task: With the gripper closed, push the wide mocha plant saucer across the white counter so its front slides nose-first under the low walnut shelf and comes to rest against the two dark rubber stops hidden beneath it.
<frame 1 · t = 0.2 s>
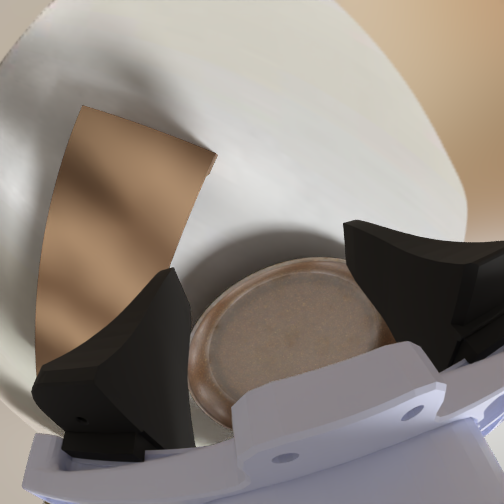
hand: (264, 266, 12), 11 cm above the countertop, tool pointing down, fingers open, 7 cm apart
walnut shelf: (110, 284, 22), on the countertop
plant saucer: (296, 348, 27), on the countertop
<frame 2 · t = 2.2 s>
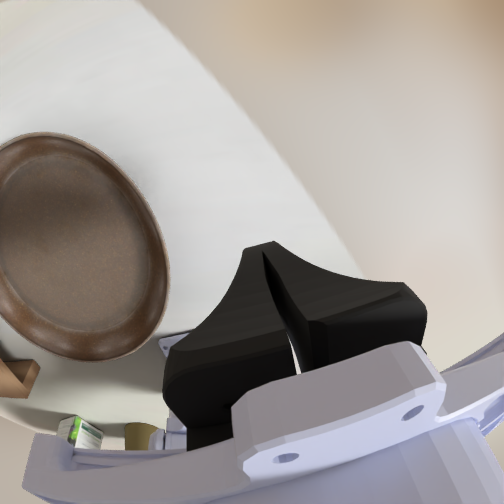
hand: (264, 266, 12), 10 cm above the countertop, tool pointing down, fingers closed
syrup box: (81, 425, 33), on the countertop
cork: (144, 431, 34), on the countertop
plant saucer: (62, 249, 21), on the countertop
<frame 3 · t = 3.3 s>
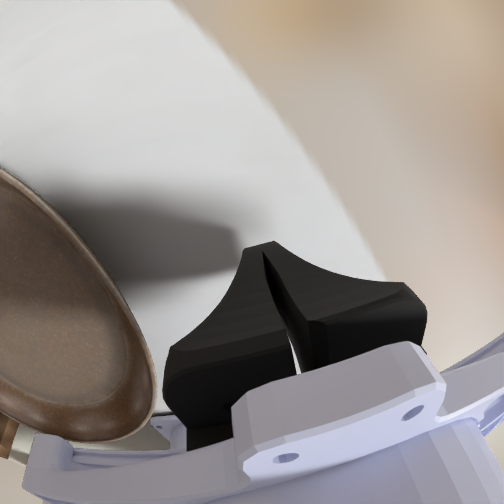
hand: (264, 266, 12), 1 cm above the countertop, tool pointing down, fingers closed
plant saucer: (14, 310, 13), on the countertop
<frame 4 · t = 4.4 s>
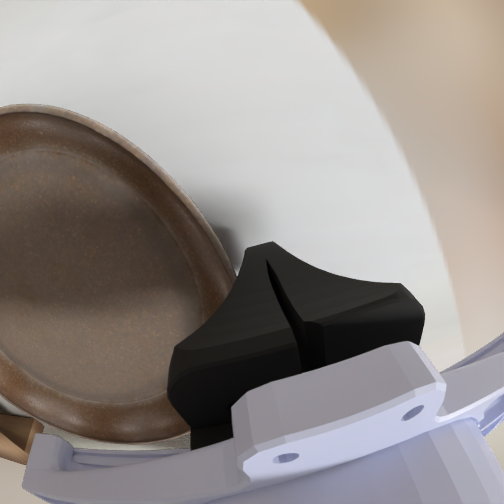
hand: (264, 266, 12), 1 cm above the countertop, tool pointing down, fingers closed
plant saucer: (59, 299, 13), on the countertop, touching gripper
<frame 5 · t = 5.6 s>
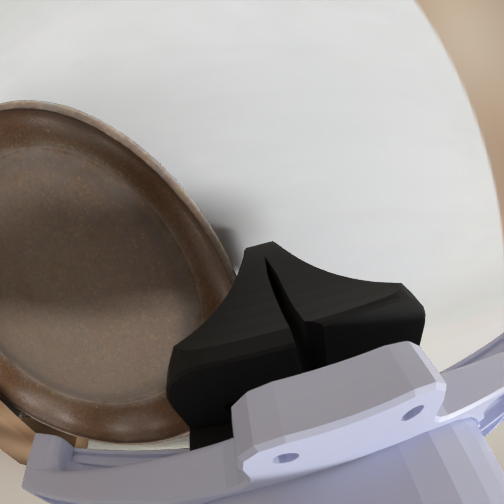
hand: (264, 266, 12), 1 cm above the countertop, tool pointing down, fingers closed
plant saucer: (57, 297, 13), on the countertop, touching gripper
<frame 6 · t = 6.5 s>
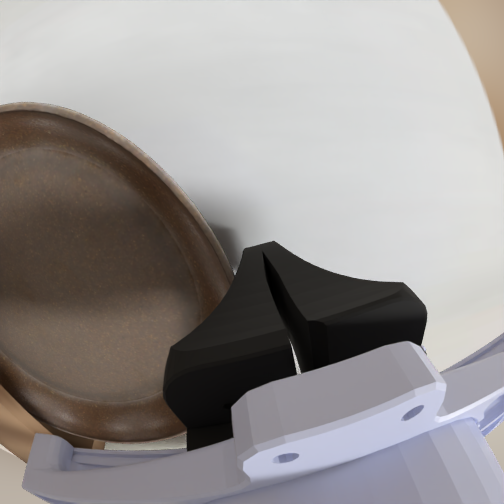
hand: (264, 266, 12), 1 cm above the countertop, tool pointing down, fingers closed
plant saucer: (57, 297, 13), on the countertop
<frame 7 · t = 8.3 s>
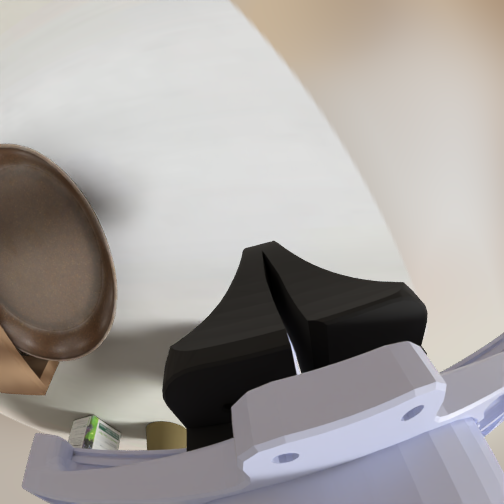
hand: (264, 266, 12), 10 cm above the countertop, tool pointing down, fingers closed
syrup box: (97, 425, 32), on the countertop
cork: (167, 430, 34), on the countertop
plant saucer: (29, 252, 21), on the countertop
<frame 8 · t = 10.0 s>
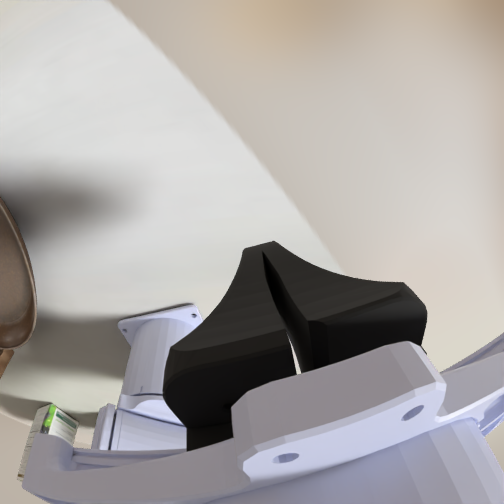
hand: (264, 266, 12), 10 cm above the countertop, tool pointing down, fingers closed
syrup box: (58, 414, 32), on the countertop
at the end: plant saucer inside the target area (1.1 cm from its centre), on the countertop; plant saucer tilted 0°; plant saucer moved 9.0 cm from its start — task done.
